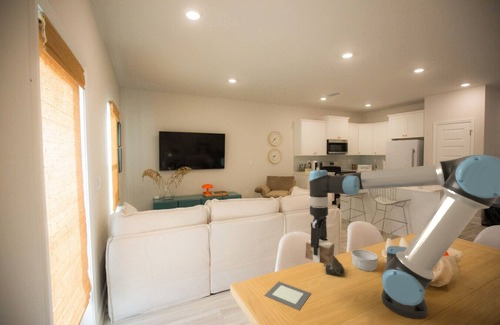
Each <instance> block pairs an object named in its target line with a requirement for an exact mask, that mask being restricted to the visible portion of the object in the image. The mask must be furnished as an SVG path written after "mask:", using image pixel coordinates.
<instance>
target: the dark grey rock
mask: <svg viewBox="0 0 500 325" xmlns="http://www.w3.org/2000/svg"><path fill="white" fill-rule="evenodd" d="M323 267H325V270H324V271H325V272H324V273H325V274H326V275H337V276H339V277H342V276H344V275H345V268H344V266H343V264H342V263H341V262H340V261H339V259H338V258H337V257H336V256H334V258H333V260H332V262H331V263H330V265H326V264H323Z"/></svg>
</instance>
